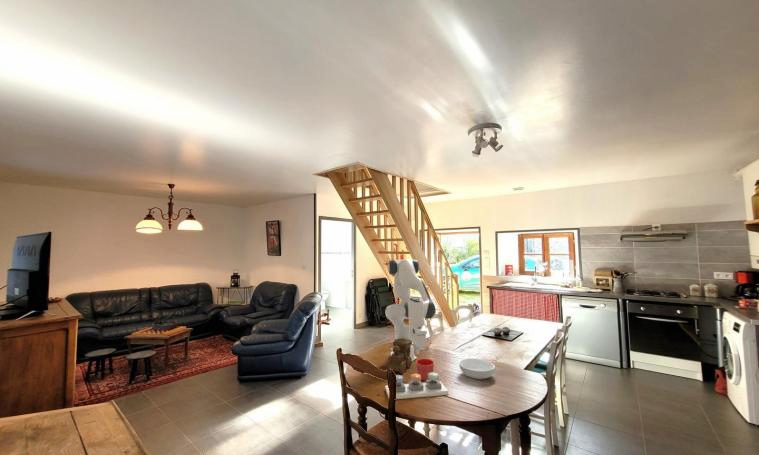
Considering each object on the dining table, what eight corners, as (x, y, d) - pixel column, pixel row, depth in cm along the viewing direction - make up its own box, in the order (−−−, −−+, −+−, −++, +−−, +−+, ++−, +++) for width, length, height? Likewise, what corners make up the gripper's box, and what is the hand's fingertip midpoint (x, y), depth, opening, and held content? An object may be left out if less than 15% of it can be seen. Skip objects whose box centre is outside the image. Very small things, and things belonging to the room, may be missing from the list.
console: (385, 389, 169) (385, 380, 170) (440, 384, 174) (440, 376, 174) (389, 399, 158) (388, 390, 158) (448, 394, 162) (447, 385, 162)
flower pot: (420, 383, 176) (420, 366, 177) (413, 375, 187) (413, 359, 188) (437, 380, 179) (437, 363, 180) (429, 373, 190) (429, 357, 190)
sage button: (427, 381, 170) (426, 372, 170) (436, 380, 171) (436, 372, 171) (430, 385, 164) (430, 376, 165) (440, 384, 165) (439, 376, 165)
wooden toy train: (398, 362, 209) (397, 337, 211) (413, 365, 204) (413, 339, 205) (385, 373, 192) (384, 346, 193) (401, 376, 187) (401, 348, 188)
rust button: (409, 382, 168) (409, 374, 169) (419, 381, 169) (419, 373, 170) (412, 386, 163) (412, 378, 163) (422, 386, 164) (422, 377, 164)
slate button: (391, 383, 167) (391, 375, 167) (401, 383, 168) (401, 374, 168) (393, 388, 161) (393, 379, 162) (404, 387, 162) (403, 378, 163)
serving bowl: (498, 384, 173) (497, 372, 174) (460, 381, 177) (460, 369, 178) (492, 370, 194) (491, 359, 194) (458, 368, 198) (458, 357, 198)
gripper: (406, 323, 178) (407, 348, 177) (416, 332, 158) (417, 360, 157) (417, 323, 179) (417, 347, 178) (427, 331, 159) (428, 359, 158)
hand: (417, 353), depth 167 cm, fingers closed
